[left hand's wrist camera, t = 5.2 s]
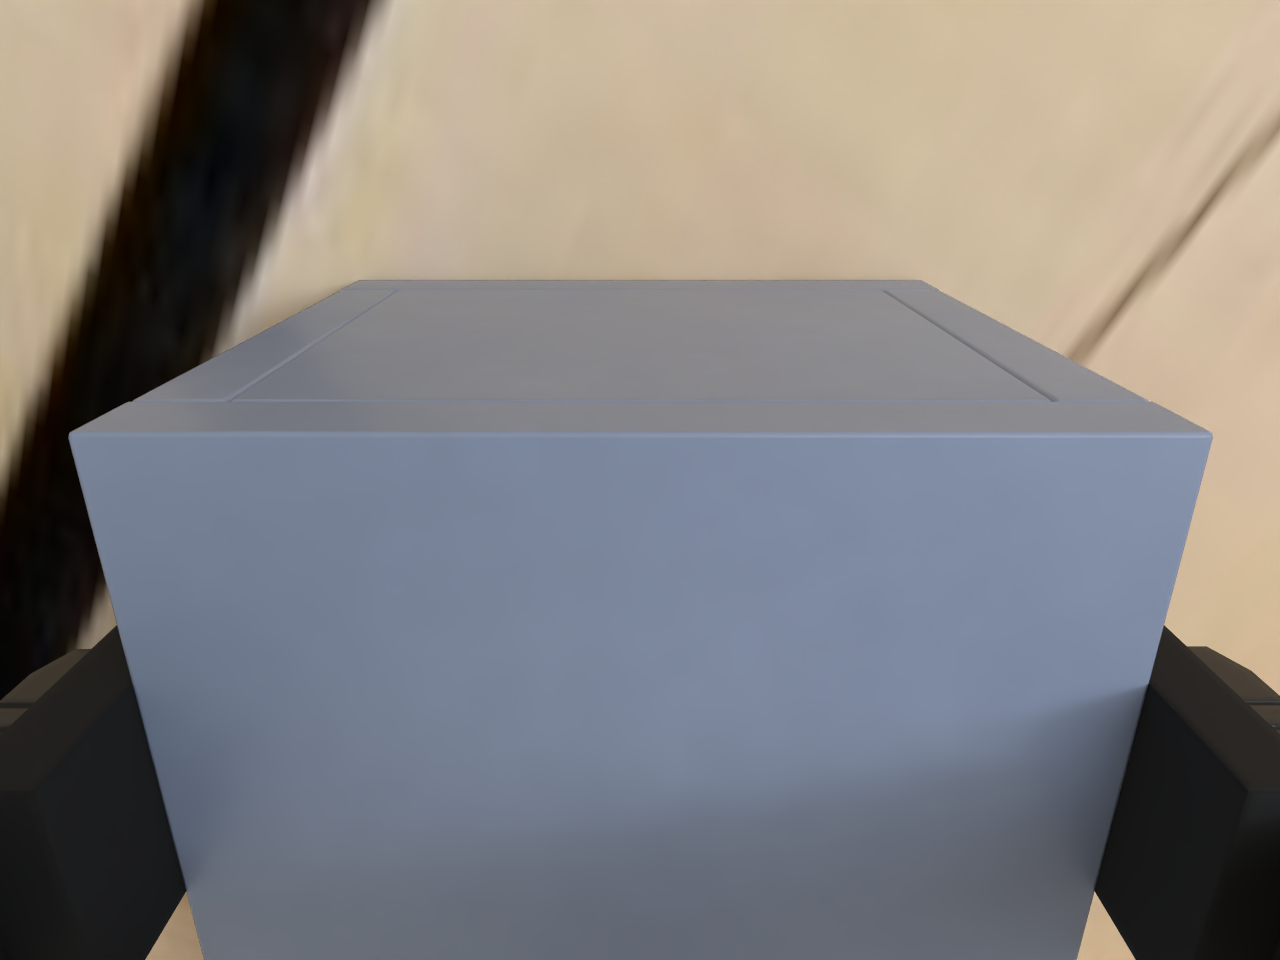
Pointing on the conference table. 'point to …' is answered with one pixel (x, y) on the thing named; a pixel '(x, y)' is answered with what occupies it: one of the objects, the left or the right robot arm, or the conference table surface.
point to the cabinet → (640, 621)
